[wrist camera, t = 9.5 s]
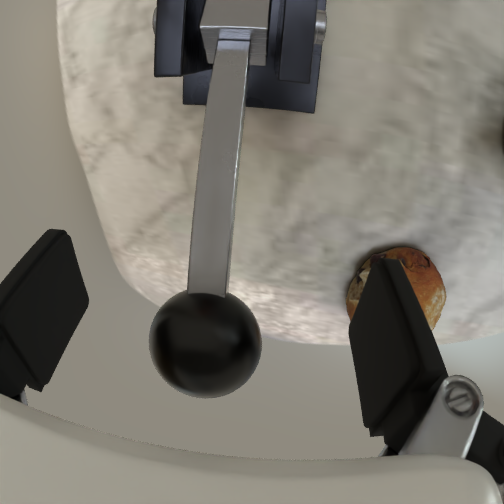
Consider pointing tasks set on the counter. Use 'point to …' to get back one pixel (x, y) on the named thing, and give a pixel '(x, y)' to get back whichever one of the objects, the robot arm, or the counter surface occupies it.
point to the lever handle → (216, 220)
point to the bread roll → (419, 275)
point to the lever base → (260, 77)
